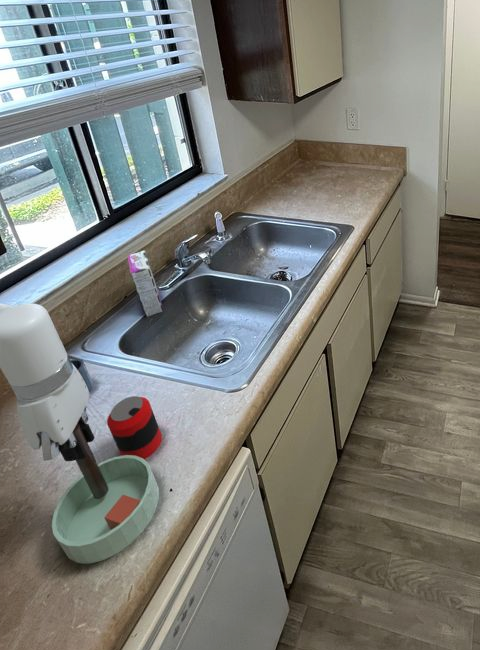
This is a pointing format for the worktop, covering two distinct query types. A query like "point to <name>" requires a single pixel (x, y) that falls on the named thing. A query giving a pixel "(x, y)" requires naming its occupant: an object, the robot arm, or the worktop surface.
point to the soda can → (134, 427)
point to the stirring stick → (90, 467)
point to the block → (121, 511)
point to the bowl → (105, 511)
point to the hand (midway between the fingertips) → (80, 449)
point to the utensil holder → (83, 372)
